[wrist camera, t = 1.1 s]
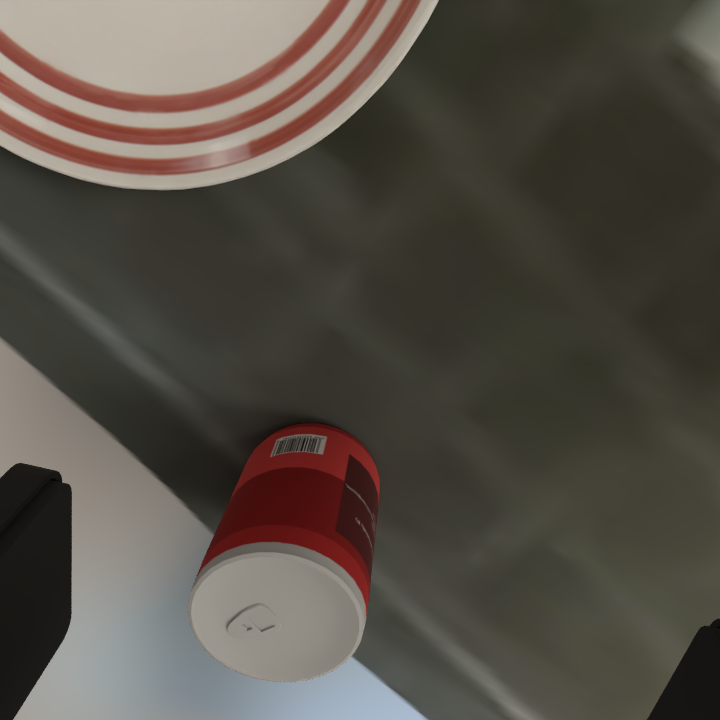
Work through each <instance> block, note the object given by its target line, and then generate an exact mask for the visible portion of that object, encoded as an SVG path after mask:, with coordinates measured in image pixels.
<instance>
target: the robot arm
mask: <svg viewBox="0 0 720 720" xmlns="http://www.w3.org/2000/svg"><path fill="white" fill-rule="evenodd" d="M71 516H72V491H71V487H70V485H69V484H66V483H62V477H61V475H60V473H59V472H57V471H54V470H50V469H45V468H41V467H36V466H32V465H28V464H23V463H19V464H15V465H14V466H13V467H11V468H10V469H9V470H8V471H7V472H6V473H5V474H4V475H3V476H2V477H1V478H0V720H13V719H14V717H15V716H16V714H17V713H18V711H19V709H20V708H21V706H22V705H23V703H24V702H25V700H26V698H27V697H28V695H29V693H30V692H31V690H32V689H33V687H34V686H35V684H36V682H37V681H38V679H39V678H40V676H41V675H42V673H43V671H44V670H45V668H46V667H47V665H48V663H49V662H50V660H51V659H52V657H53V655H54V654H55V652H56V651H57V649H58V648H59V646H60V644H61V643H62V641H63V639H64V637H65V635H66V633H67V631H68V628H69V625H70V620H71V571H72V570H71V569H72V567H71V564H72V563H71V562H72V551H71V550H72V525H71V524H72V522H71V521H72V517H71ZM647 720H720V619H717V620H715V621H713V622H712V624H711V625H710V626H703V627H701V628H700V629H699V631H698V632H697V634H696V635H695V637H694V639H693V641H692V642H691V644H690V646H689V648H688V649H687V651H686V653H685V654H684V656H683V658H682V660H681V661H680V663H679V665H678V667H677V668H676V670H675V672H674V674H673V675H672V677H671V679H670V681H669V682H668V684H667V686H666V688H665V689H664V691H663V693H662V695H661V696H660V698H659V700H658V702H657V703H656V705H655V707H654V709H653V710H652V712H651V714H650V716H649V717H648V719H647Z"/></svg>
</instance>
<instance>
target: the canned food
mask: <svg viewBox="0 0 720 720" xmlns="http://www.w3.org/2000/svg"><path fill="white" fill-rule="evenodd" d="M379 493H380V479H379V475H378V471H377V468H376V465H375V463H374V461H373V459H372V457H371V455H370V453H369V452H368V450H367V449H366V448H365V447H364V445H363V444H362V443H361V442H360V441H359V440H357V439H356V438H355V437H353V436H352V435H351V434H349V433H347V432H345V431H343V430H341V429H339V428H336V427H333V426H330V425H325V424H318V423H302V424H296V425H291V426H288V427H286V428H283V429H280V430H278V431H277V432H275V433H273V434H272V435H270V436H269V437H268V438H266V439H265V440H264V441H263V442H262V443H261V444H260V445H258V446H257V447H256V448H255V449H254V451H253V452H252V454H251V455H250V457H249V458H248V461H247V463H246V465H245V467H244V469H243V472H242V474H241V476H240V478H239V481H238V483H237V485H236V487H235V490H234V492H233V494H232V496H231V499H230V501H229V503H228V505H227V508H226V510H225V512H224V514H223V517H222V519H221V521H220V523H219V526H218V528H217V530H216V532H215V535H214V537H213V539H212V541H211V544H210V546H209V548H208V550H207V553H206V555H205V557H204V560H203V562H202V565H201V567H200V570H199V572H198V574H197V577H196V579H195V582H194V585H193V587H192V590H191V595H190V598H189V603H188V616H189V622H190V626H191V629H192V631H193V633H194V635H195V637H196V639H197V640H198V642H199V643H200V644H201V645H202V647H203V648H204V649H205V650H206V651H207V652H208V653H209V654H210V655H211V656H212V657H213V658H214V659H216V660H217V661H219V662H220V663H222V664H223V665H225V666H226V667H228V668H230V669H232V670H234V671H236V672H238V673H241V674H243V675H246V676H250V677H253V678H256V679H261V680H267V681H274V682H296V681H304V680H309V679H313V678H316V677H320V676H322V675H325V674H327V673H329V672H331V671H333V670H335V669H337V668H338V667H339V666H341V665H342V664H344V663H345V662H346V661H347V660H348V659H349V658H350V657H351V656H352V655H353V653H354V652H355V651H356V649H357V647H358V645H359V643H360V641H361V638H362V634H363V630H364V626H365V622H366V616H367V607H368V601H369V592H370V583H371V573H372V563H373V553H374V543H375V533H376V523H377V513H378V503H379Z"/></svg>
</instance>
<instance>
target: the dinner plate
mask: <svg viewBox="0 0 720 720" xmlns="http://www.w3.org/2000/svg"><path fill="white" fill-rule="evenodd" d="M438 1H439V0H0V146H2V147H3V148H5V149H7V150H9V151H11V152H13V153H14V154H16V155H18V156H20V157H22V158H24V159H26V160H29V161H31V162H33V163H35V164H38V165H40V166H43V167H45V168H48V169H51V170H53V171H56V172H59V173H62V174H65V175H68V176H71V177H74V178H77V179H80V180H84V181H88V182H93V183H97V184H102V185H107V186H113V187H119V188H126V189H146V190H179V189H190V188H197V187H204V186H211V185H216V184H220V183H225V182H229V181H232V180H236V179H239V178H243V177H246V176H249V175H252V174H255V173H257V172H260V171H263V170H266V169H268V168H270V167H273V166H275V165H277V164H279V163H281V162H283V161H285V160H288V159H290V158H291V157H293V156H295V155H297V154H299V153H301V152H302V151H304V150H306V149H308V148H310V147H311V146H313V145H314V144H316V143H317V142H319V141H320V140H322V139H323V138H325V137H326V136H327V135H329V134H330V133H331V132H333V131H334V130H335V129H336V128H338V127H339V126H340V125H341V124H343V123H344V122H345V121H346V120H347V119H349V118H350V117H351V116H352V115H353V114H354V113H355V112H356V111H357V110H358V109H359V108H360V107H362V106H363V105H364V104H365V103H366V102H367V101H368V99H369V98H370V97H371V96H372V95H373V94H374V93H375V92H376V91H377V90H378V89H379V88H380V87H381V86H382V85H383V84H384V83H385V81H386V80H387V79H388V78H389V77H390V75H391V74H392V73H393V72H394V70H395V69H396V68H397V66H398V65H399V64H400V62H401V61H402V60H403V58H404V57H405V55H406V54H407V52H408V51H409V49H410V48H411V46H412V45H413V43H414V42H415V40H416V39H417V37H418V36H419V34H420V33H421V31H422V29H423V28H424V26H425V25H426V23H427V21H428V20H429V18H430V16H431V14H432V12H433V10H434V8H435V7H436V5H437V3H438Z"/></svg>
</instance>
